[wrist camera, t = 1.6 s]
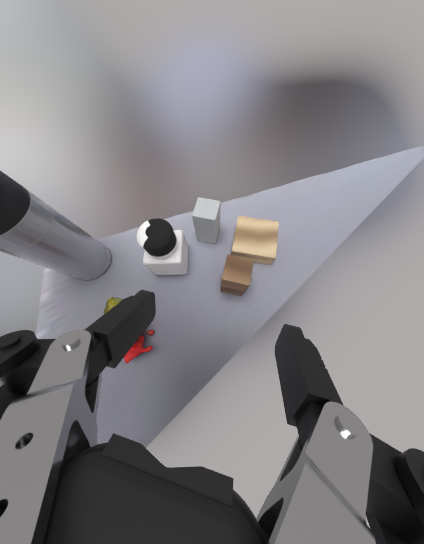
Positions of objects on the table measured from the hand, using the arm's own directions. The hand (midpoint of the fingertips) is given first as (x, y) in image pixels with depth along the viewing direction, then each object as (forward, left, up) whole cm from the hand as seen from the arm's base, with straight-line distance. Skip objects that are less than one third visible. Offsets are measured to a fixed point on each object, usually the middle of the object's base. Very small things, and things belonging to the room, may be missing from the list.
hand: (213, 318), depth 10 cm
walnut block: (+5, +8, -23) cm, 25 cm away
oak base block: (+11, +17, -24) cm, 31 cm away
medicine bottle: (-8, +15, -24) cm, 29 cm away
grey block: (+1, +21, -23) cm, 31 cm away
